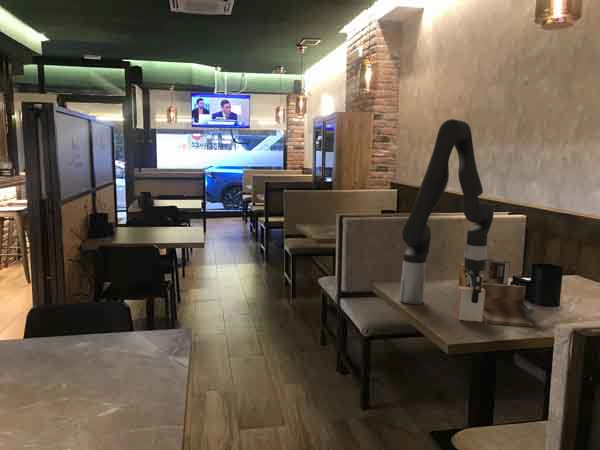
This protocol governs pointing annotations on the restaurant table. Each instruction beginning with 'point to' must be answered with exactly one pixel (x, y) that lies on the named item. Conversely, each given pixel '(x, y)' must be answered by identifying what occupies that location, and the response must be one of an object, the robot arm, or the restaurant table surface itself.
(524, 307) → the bookend
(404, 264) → the robot arm
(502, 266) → the coffee box
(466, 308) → the boxed book
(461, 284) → the candy box
